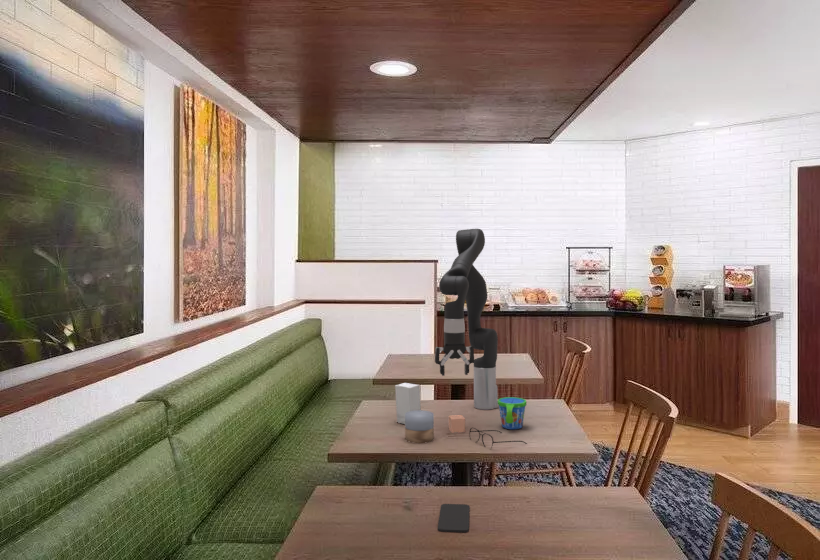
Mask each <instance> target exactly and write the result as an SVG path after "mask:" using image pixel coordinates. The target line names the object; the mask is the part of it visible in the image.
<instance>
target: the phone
mask: <svg viewBox="0 0 820 560" xmlns="http://www.w3.org/2000/svg"><path fill="white" fill-rule="evenodd" d="M470 509H471V507H470V505H469V504H464V503H462V504H459V503H443V504H441V505H440V511H439V516H438V522H437V531H438V532H441V533H460V534H461V533H462V534H463V533H468V532H469V530H470V513H469V512H471V511H470Z"/></svg>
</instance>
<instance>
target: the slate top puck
mask: <svg viewBox="0 0 820 560" xmlns="http://www.w3.org/2000/svg"><path fill="white" fill-rule="evenodd" d="M434 416H435V415H434V412H432V411H430V410H422V409H421V410H416V411H409V412H407V413H405V424H404V429H405V428H406V429H408V430H413V431H425V430H430V429H432V428H433V427H435V426H434V423H435V422H434V420H435V419H434Z"/></svg>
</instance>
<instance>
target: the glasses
mask: <svg viewBox="0 0 820 560" xmlns="http://www.w3.org/2000/svg"><path fill="white" fill-rule="evenodd" d="M472 429H474V430H472ZM477 432H478V434H479V436H478V439H477V440H476V443H478V442H479V441H480V438H481V441H482V444H483V447H484V448H486V445H485V443H484V435H488V436H489V437H491V438H490V439H491V441H492V442H491V447H490V449H493V446H494V445H493V444H498V443H499V444H500V443H517V442H520V443H523V444H525V445H528V443H527V442H525V441H523V440H505V441H504V440H503V441H494V437H493V436H492V435H490V434H489V433H486V432H497V433H498V432H499V433H500V434H503V432H502V431H499V430H496V429H487V430H486V429H485V430H479V429H477V428H476V427H471V428H470V429H469V436H471V433H477ZM469 440H470V441H472V439H471V437H469Z"/></svg>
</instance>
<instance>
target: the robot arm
mask: <svg viewBox="0 0 820 560" xmlns="http://www.w3.org/2000/svg"><path fill="white" fill-rule="evenodd" d="M455 243H456V250H457V253H458V255H457V257H455V258H454V261H453V262H452V265H451V267H450V269H448V270H447V271H446V272H445V274H443V276H441V278H440V281H439V284H438V287H439V291H440V292H441V294H443V295H445V296H457V298H456V299H455V300H452V301H447V302H446V303H444V322H443V347H440V346H439V347H438V346H435V348H434V363H435V364H437V365H439V373H440V375H441V376H442V377H445V368H446V367H445V364H446V362H447V361H448V360H449V359H451V360H454V359H456V360H457V359H461V360H462V361H463V362H464V375H465V376H468V374H470V364H473V407H474V408H475V409H477V410H493V409H499V405H498V399H499V397H498V385H497V365H496V364H497V360H498V345H499V344H498V342H499V340H498V332H497V331H496V330H495V329H494V328H487V327H482V326H481V315H482V312H483V311H484V308H485V306H486V303H487V302H488V301H487V300H488V290H487V283H486V280H485V278H484V277H483V276H482V274H481V273H480V272H479V270H477V268H476V267H475V266H474V263H475V261H477V258H478V257H479V256H480V254H481V253H482V252H483V250H484V248H485V244H486V238H485V233H484V231H483V229H481V228H470V229H469V228H467V229H460V230H458V231H456V235H455ZM465 304H466V305H465ZM465 306H466V313H467V324H468V325H467V326H468V340H469V344H470V345H469V346H466V342H465V341H466V340H465V339H466V337H465V334H466V332H465V331H466V328H465V327H466V326H465ZM475 350H478V351H479V350H480V351H483V355H482V356H481V357H477V358H475ZM442 351H443V352H444V355H443V356H442V358H441V359H440V354H441V353H442ZM466 351H467V352H468V355H469V359H467V357H466V356H465V355H464V354H465V352H466Z"/></svg>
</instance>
